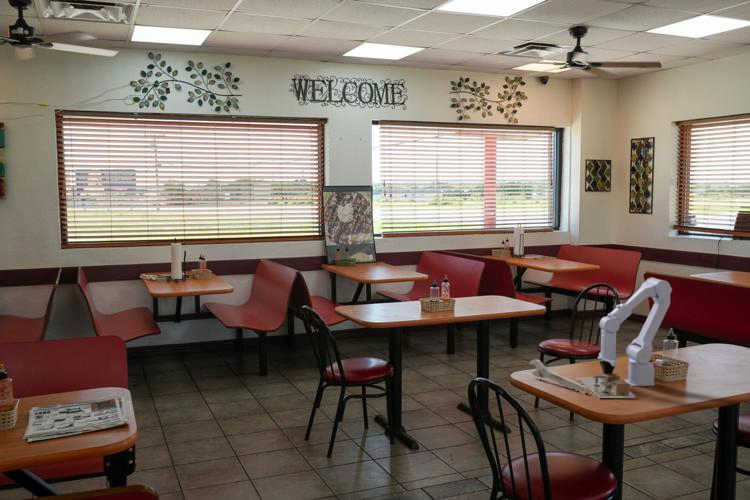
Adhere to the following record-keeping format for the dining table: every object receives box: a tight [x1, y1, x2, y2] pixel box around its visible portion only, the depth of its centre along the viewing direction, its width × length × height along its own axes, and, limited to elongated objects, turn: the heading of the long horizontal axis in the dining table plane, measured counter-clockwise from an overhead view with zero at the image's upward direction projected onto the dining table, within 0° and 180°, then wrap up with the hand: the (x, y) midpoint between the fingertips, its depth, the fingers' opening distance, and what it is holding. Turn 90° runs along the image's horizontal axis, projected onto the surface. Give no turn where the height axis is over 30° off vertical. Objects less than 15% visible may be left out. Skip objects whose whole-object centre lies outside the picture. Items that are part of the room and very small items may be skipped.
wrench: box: [529, 359, 590, 394], centre depth 275 cm, size 8×2×30 cm
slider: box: [591, 372, 621, 386], centre depth 271 cm, size 10×5×4 cm, turn 92°
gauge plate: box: [576, 376, 636, 399], centre depth 270 cm, size 14×26×5 cm, turn 2°
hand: (607, 379), depth 275 cm, fingers closed
